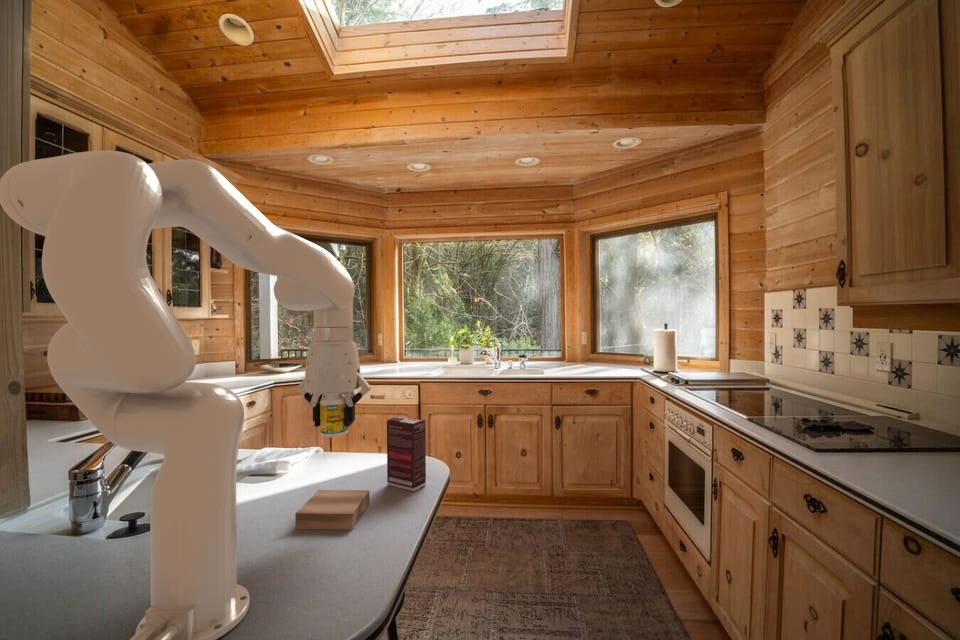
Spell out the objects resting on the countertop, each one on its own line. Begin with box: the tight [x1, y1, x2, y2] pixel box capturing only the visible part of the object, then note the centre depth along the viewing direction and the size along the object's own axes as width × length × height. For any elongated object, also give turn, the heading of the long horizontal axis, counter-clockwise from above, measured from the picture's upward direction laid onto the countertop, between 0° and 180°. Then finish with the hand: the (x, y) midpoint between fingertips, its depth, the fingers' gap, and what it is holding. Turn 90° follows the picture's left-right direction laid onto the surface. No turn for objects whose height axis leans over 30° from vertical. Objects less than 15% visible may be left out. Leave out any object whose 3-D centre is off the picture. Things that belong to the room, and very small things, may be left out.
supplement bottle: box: [319, 393, 349, 438], centre depth 86 cm, size 5×5×10 cm
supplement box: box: [386, 415, 427, 492], centre depth 102 cm, size 9×5×16 cm, turn 59°
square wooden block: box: [294, 489, 370, 531], centre depth 86 cm, size 11×11×3 cm
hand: (334, 424), depth 86 cm, fingers closed on supplement bottle, 5 cm apart
